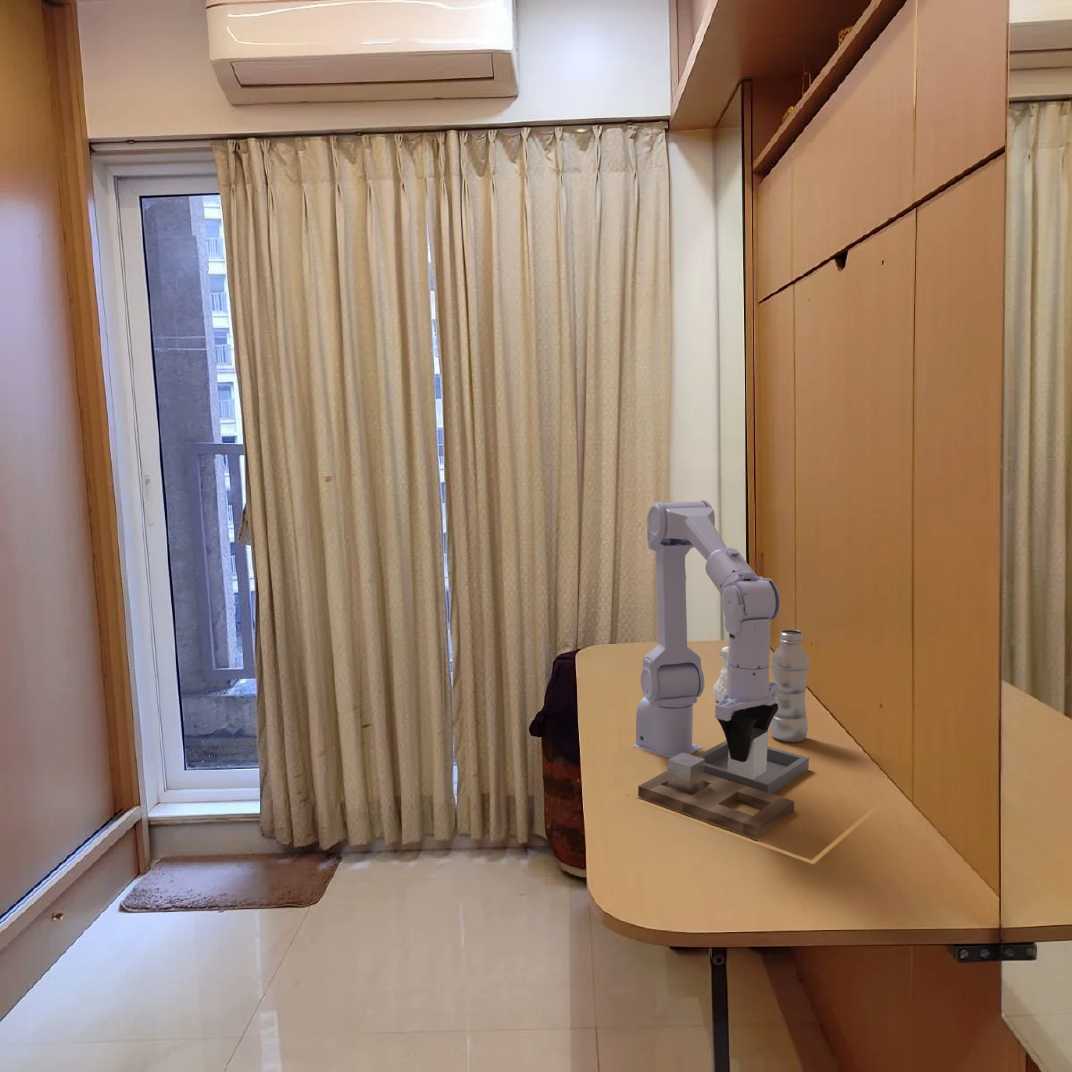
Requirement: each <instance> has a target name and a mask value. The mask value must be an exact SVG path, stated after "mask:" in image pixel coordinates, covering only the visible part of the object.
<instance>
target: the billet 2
mask: <svg viewBox="0 0 1072 1072" xmlns="http://www.w3.org/2000/svg"><path fill="white" fill-rule="evenodd" d="M768 739H769V731H766V730H762V729H759V728H755V727H753V729H752V732H751V736H750V741H749V748H748V755H747V758H746V761H745V762H740V761H736V760H733V759H731V757H730V753H729V749H728V772H731V773H734V774H737V775H741V776H744V777H747V778H750V779H754V778H756V777H757V776H759V775H760V774H762V773H764V772H765V771H766V766H767V746H768V744H769V743H768Z"/></svg>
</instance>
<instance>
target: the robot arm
mask: <svg viewBox="0 0 1072 1072" xmlns="http://www.w3.org/2000/svg"><path fill="white" fill-rule="evenodd" d="M715 525H716V513H715V510H714V508H713V507H712V505H711V503H710V502H709V501H708V500H706V499H705V500H702V499H701V500H700V501H671V502H668V501H667V502H660V501H655V502H653V504H652V505H651V507H649V511H648V513H647V516H646V533H647V534H646V535H647V547H648V548H647V549H649V550H652V551H654V552H655V562H656V563H655V564H656V566H655V568H656V570H655V571H656V574H655V575H656V604H657V606H656V609H657V612H656V613H657V643H658V644H657V645H656V646H655V647H654V648H652V650H650V651H648V653H646V654H645V655H644V656H643V658H642V659H643V660H642V669H641V672H640V686H641V687H640V688H641V691H642V694H643V697H642V698H641V700H640V701H639V703H638V704H637V705H638V706H637V708H636V713H635V723H636V724H635V744H633V748H636V749H639V750H643V751H646V752H648V753H649V752H650V753H653V754H656V755H658V756H661V757H665V758H668V759H671V758H673V757H674V756H676V755H678V754H680V753H682V752H683V753H687V754H690V755H692V754H693V753H695V752H697V751H698V750H700V749H703V746H702V745H699V744H697V743H693V721H694V720H693V719H694V704H696V703H698V700H697V699H698V698H700V697H701V695H702V693H703V692H704V689H705V675H704V671H703V667H702V659H701V657H700V655H699V654H698V653H697V652H695V651H694V650H693V649H691V648H690V647H689V646H688V625H687V624H688V621H687V619H688V618H687V588H686V587H687V582H686V580H687V579H686V556H687V555H688V553H689V552H690V550H691V549H693V548H695V549H696V550H697V552H699V554H700V555H701V556H702V557H703V558H704V560H706V562H705V571H706V574H707V576H708V578H709V579H710V580H711V582H712V583H713V585H714V586H715V588H716V589H717V591H718V592H719V593H720V595H721V596H722V597H721V607H722V608H721V609H722V612H723V615H724V628H725V631H726V632H727V633H728V646H729V649H728V689H727V691H726V693H725V695H724V696H723V698H722V699H721V701H720V702H718V703H716V704H715V706H714V708H715V709H714V710H715V711H714V719H716V720H717V721H718V723H719V724H720V726H721V728H722V729H721V730H722V731H723V733H724V736H725V741H726V740H727V744H728V749H729V753H730V757H731V759H733V760H736V761H740V762H745V761H746V758H747V755H748V748H749V741H750V736H751V732H752V729H753V727H755V728H759V729H762V730H766V731H768V730H769V729H770V727H769V725H770V723H771V721H772V719H773V717H774V715H775V714H776V712H777V711H778V704H777V703H776V698H774V697H776V696H778V684H777V683H773V681H770V664H771V656H770V655H771V628H772V627H771V625H772V624H771V621H772V620H774V619H776V618H777V617H778V615H779V612H780V608H781V597H780V593H779V589H778V588H777V587H778V586H777V585H776V584H775V582H774V580H772V579H771V578H768V577H765V578H764V577H763V576H762V575H761V576H758V575H757V574H756V573H755V571H754V570H753V568H752V567H751V566H750V564H748V562H747V561H746V559H745V558H744V557H743V555H742V554H741V553H740V552H739V550H738V549H736V548H733V547H727V546H726V544H725V542H724V540H723V539H722V537H721V535H720V533H719V532H718V531H717V529H716V527H715ZM768 732H769V731H768Z"/></svg>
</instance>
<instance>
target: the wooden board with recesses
mask: <svg viewBox="0 0 1072 1072" xmlns="http://www.w3.org/2000/svg"><path fill="white" fill-rule="evenodd" d="M637 788H638V791H637V793H638V795H637V796H638V797H637V799H638V800H641V801H644V802H647V803H649V804H653V805H655V806H659V807H661V808H664V809H666V810H669V811H672V812H674V813H678V814H680V815H683V816H686V817H689V818H691V819H693V820H697V821H699V822H703V823H706V824H708V825H710V826H714V827H717V828H719V829H722V830H725V831H727V832H730V833H733V834H736V835H739V836H741V837H744V838H747V839H749V840H752V841H755V842H759V840H757V839H759V838H760V837H761V836H762V835H764V834H765V833H766V832H768V831H769V830H770V829H772V828H773V827H775V826H776V825H777V824H779V823H780V822H781V821H782V820H784V819H785V818H786V817H787V818H788V817H789V816H790V815H791V814H792V813H793V812H794V811H795V800H793V799H789V798H786V797H783V796H779V795H777V794H775V793H774V794H770V793H767V792H764V791H761V790H758V789H755V788H751V787H748V786H745V785H742V784H739V783H735V782H732V781H729V780H726V779H723V778H720V777H716V776H713V775H710V774H707V773H705V775H704V788H703V789H701V790H700V791H698V792H696V793H695V794H693V795H690V794H687V793H684V792H681V791H678V790H675V789H672V788H669V787H668V769H667V770H665V771H663V772H662V773H660V774H658V775H656V776H654V777H652V778H651V779H648V780H647V781H645V782H643V783H641V784H639V785H638V787H637ZM646 799H647V800H646ZM649 800H650V801H649ZM651 801H652V802H651ZM737 802H738V803H741V804H744V805H746V806H749V807H753V808H756V809H759V811H757V812H756V813H754V814H753V815H751V814H748V813H746V812H742V811H740V810H737V809H735V808H730V807H731V806H733V804H735V803H737ZM660 804H661V805H660ZM663 805H664V806H663ZM665 806H666V807H665ZM677 810H678V811H677ZM680 811H681V812H680ZM682 812H683V813H682ZM691 815H692V816H691ZM710 822H711V823H710ZM716 824H717V825H716ZM719 825H720V826H719ZM722 826H723V827H722ZM724 827H725V828H724ZM730 829H731V830H730ZM736 831H737V832H736ZM749 836H750V837H749ZM753 837H754V838H753ZM755 838H756V839H755Z"/></svg>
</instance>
